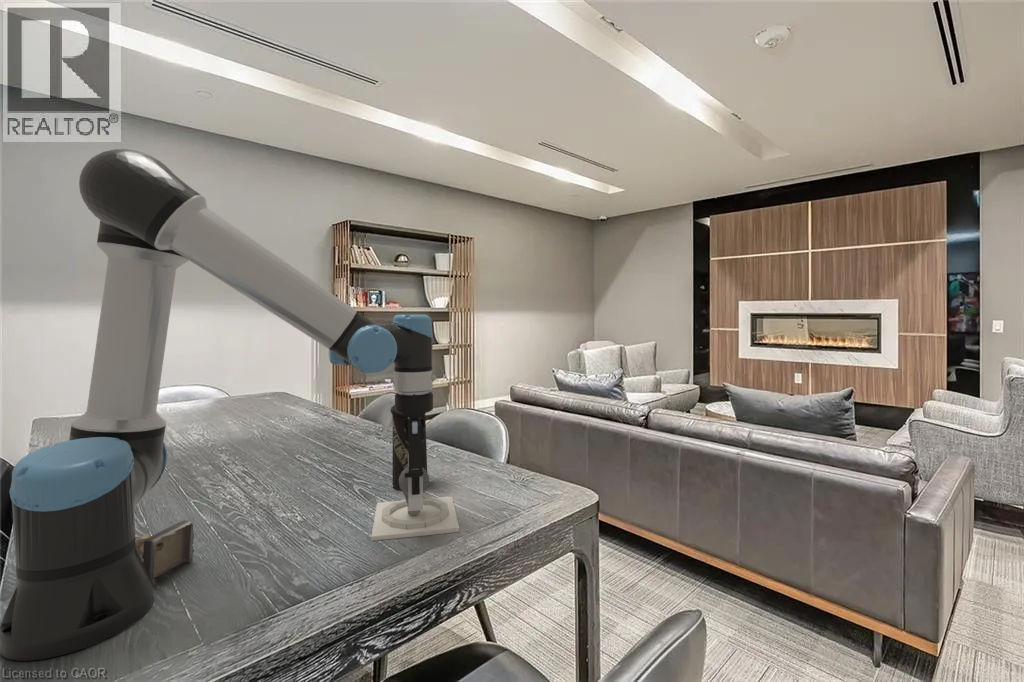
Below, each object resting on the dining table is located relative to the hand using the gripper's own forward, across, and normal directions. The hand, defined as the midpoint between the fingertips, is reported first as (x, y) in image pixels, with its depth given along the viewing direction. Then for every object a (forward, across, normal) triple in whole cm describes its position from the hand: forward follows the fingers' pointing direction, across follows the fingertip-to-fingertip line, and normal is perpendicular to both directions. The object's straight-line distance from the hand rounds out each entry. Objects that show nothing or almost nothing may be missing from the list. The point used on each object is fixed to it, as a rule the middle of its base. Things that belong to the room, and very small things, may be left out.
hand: (415, 496), depth 94 cm
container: (+5, +20, +1) cm, 21 cm away
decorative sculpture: (+5, -7, +42) cm, 43 cm away
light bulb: (+4, 0, 0) cm, 4 cm away
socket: (+4, 0, 0) cm, 4 cm away
